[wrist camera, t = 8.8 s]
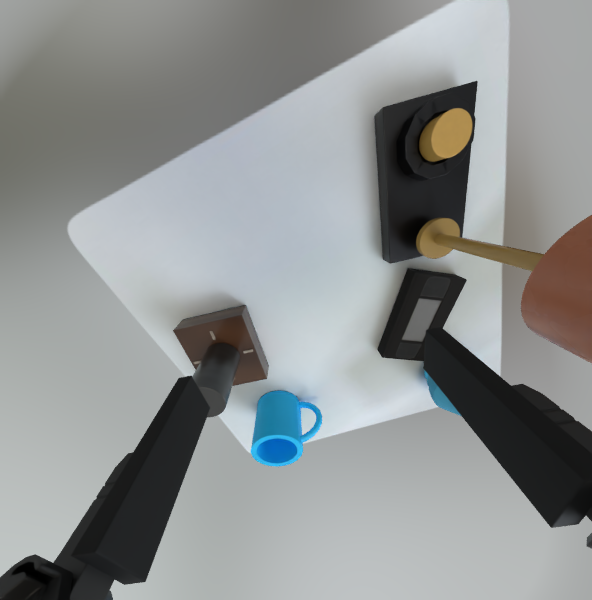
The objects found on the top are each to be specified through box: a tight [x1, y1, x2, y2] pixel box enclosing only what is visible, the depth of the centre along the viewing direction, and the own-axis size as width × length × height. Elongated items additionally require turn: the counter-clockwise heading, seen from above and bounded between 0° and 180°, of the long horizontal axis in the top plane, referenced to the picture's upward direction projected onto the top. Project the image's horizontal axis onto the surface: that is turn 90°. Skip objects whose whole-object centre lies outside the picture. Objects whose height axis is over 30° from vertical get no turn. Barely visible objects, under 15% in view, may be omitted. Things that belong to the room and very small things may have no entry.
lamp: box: [416, 215, 592, 363], centre depth 15 cm, size 8×8×20 cm
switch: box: [419, 108, 472, 162], centre depth 20 cm, size 4×4×2 cm
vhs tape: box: [378, 268, 466, 361], centre depth 32 cm, size 8×14×2 cm, turn 172°
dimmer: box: [193, 343, 240, 417], centre depth 28 cm, size 5×5×8 cm
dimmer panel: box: [173, 305, 269, 386], centre depth 33 cm, size 12×10×3 cm
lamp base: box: [375, 81, 477, 263], centre depth 24 cm, size 16×9×4 cm, turn 13°
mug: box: [251, 391, 322, 466], centre depth 37 cm, size 12×8×8 cm
